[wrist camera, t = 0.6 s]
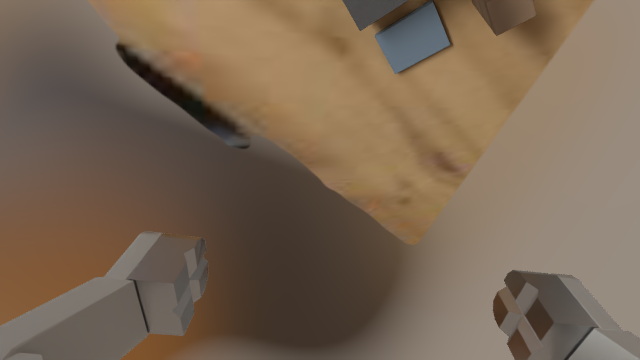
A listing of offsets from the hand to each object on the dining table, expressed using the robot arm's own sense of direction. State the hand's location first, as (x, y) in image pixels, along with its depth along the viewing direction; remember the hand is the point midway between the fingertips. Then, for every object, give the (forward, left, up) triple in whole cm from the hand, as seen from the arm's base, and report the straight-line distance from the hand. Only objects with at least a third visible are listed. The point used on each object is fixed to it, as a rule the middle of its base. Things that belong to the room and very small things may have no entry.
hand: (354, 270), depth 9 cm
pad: (0, +14, -47) cm, 49 cm away
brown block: (-11, +12, -47) cm, 50 cm away
